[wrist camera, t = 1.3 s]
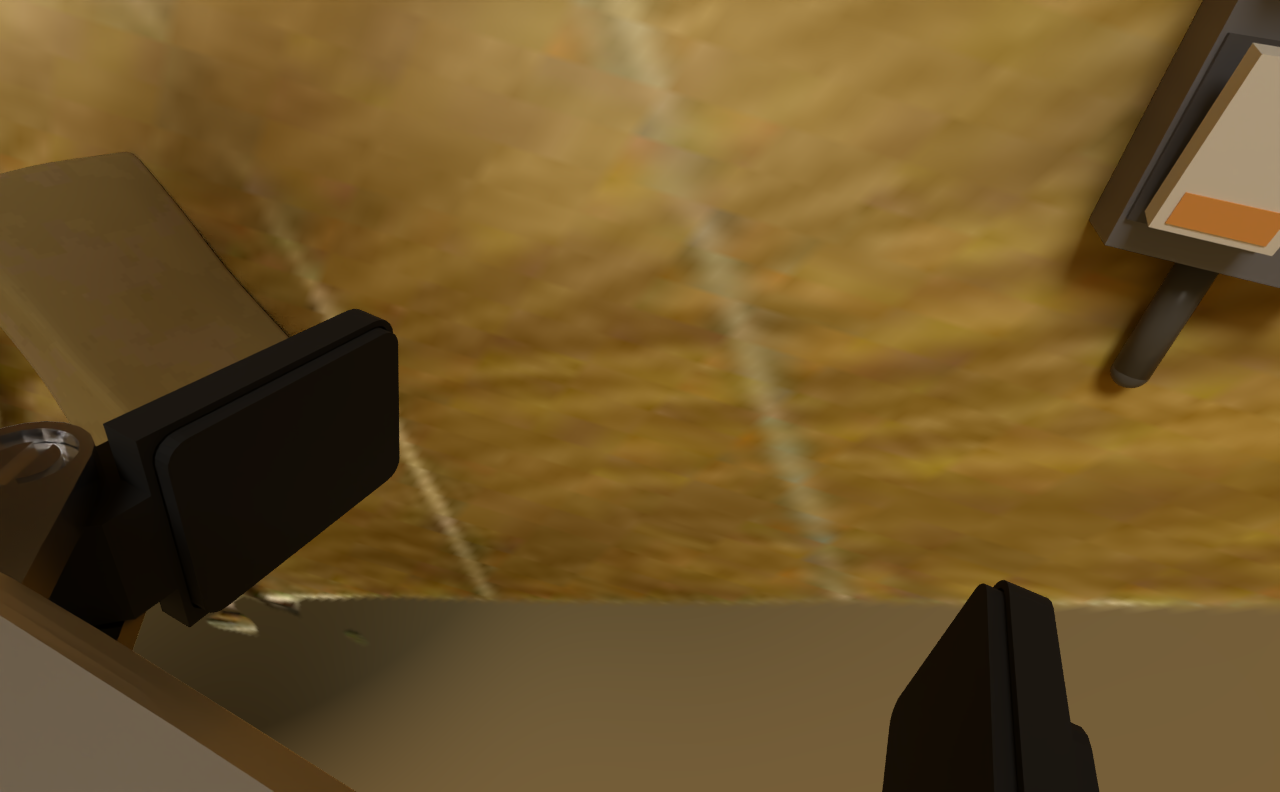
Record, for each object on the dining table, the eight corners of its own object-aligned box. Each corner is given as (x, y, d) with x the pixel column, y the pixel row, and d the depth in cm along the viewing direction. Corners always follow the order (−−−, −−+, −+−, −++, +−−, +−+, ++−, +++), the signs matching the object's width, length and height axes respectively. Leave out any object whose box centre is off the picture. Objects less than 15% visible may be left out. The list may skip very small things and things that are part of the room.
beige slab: (108, 180, 58) (-116, 221, 46) (151, 123, 53) (-89, 152, 41) (263, 395, 63) (98, 483, 51) (317, 363, 58) (147, 452, 46)
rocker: (1252, 42, 22) (1262, 54, 21) (1401, 66, 21) (1419, 81, 20) (1144, 210, 26) (1148, 227, 25) (1263, 238, 25) (1272, 257, 24)
